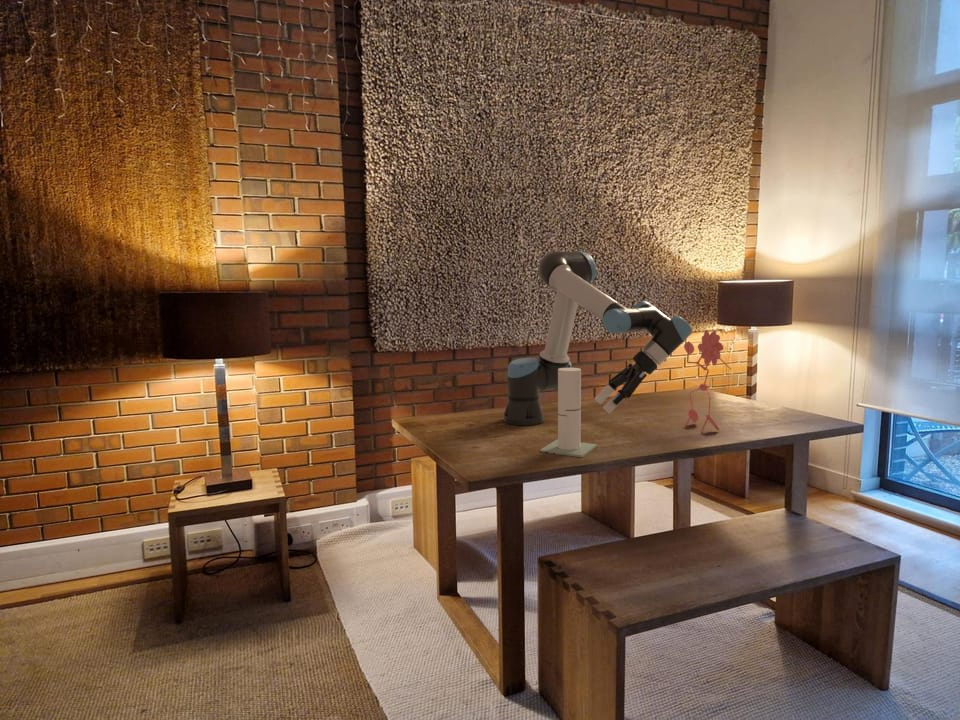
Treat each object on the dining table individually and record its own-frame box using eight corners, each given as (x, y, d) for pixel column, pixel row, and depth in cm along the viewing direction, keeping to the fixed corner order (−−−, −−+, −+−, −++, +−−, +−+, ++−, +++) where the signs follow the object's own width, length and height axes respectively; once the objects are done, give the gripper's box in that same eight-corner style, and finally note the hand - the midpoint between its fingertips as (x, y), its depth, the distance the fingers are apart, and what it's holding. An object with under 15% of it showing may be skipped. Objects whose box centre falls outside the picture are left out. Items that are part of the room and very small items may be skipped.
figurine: (714, 438, 214) (718, 334, 209) (670, 421, 238) (673, 328, 233) (752, 434, 218) (757, 332, 213) (705, 418, 242) (709, 326, 237)
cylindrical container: (579, 450, 199) (580, 371, 196) (557, 449, 200) (557, 370, 197) (581, 444, 206) (581, 367, 203) (558, 443, 207) (558, 367, 204)
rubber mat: (539, 451, 200) (539, 449, 200) (556, 441, 213) (556, 439, 213) (582, 457, 194) (582, 455, 194) (597, 446, 206) (597, 444, 206)
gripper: (670, 372, 187) (618, 423, 189) (647, 360, 212) (601, 405, 214) (652, 354, 187) (601, 406, 189) (631, 345, 211) (585, 390, 213)
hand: (601, 406), depth 201 cm, fingers open, 13 cm apart
